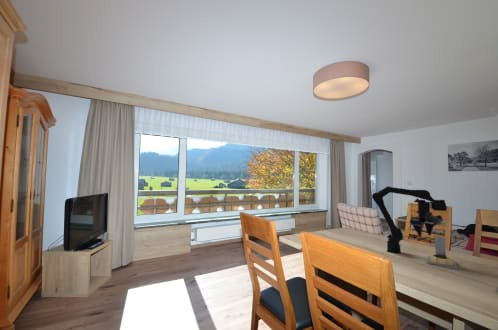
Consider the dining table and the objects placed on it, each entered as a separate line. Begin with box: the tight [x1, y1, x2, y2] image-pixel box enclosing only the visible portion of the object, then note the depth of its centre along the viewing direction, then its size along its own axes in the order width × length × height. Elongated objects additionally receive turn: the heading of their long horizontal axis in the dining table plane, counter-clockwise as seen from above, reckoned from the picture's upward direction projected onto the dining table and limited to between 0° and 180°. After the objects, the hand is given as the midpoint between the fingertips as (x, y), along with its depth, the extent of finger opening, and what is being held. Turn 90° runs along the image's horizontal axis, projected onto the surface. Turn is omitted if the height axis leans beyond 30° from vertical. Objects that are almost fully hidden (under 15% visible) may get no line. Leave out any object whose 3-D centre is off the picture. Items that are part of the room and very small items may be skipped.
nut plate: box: [426, 253, 458, 270], centre depth 120 cm, size 12×12×4 cm
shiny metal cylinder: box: [434, 235, 447, 259], centre depth 121 cm, size 4×4×13 cm
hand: (424, 235), depth 133 cm, fingers open, 9 cm apart
